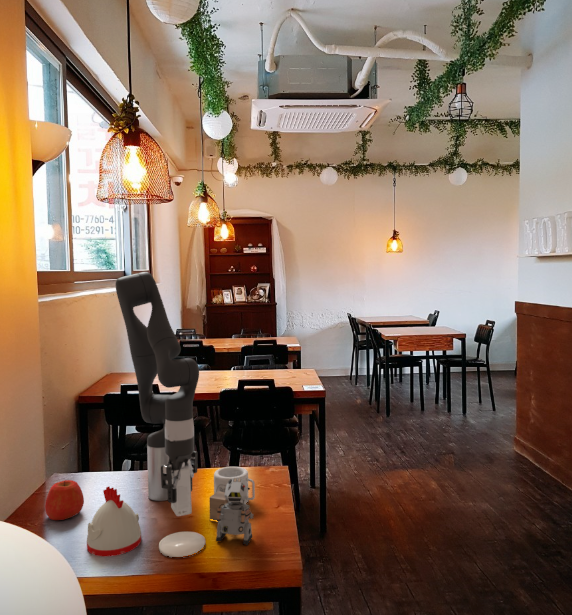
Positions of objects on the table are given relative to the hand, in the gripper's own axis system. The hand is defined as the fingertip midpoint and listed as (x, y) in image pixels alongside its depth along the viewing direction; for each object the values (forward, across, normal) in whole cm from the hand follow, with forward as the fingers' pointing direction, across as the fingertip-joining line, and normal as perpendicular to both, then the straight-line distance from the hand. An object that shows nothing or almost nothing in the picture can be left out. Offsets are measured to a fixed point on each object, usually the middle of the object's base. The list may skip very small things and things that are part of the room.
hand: (180, 496), depth 139 cm
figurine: (+13, -10, +12) cm, 20 cm away
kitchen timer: (+14, +5, -18) cm, 23 cm away
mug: (+13, -29, +1) cm, 32 cm away
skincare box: (+4, 0, 0) cm, 4 cm away
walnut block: (+13, -18, +2) cm, 23 cm away
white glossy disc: (+13, 0, 0) cm, 13 cm away
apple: (+14, -3, -43) cm, 45 cm away
